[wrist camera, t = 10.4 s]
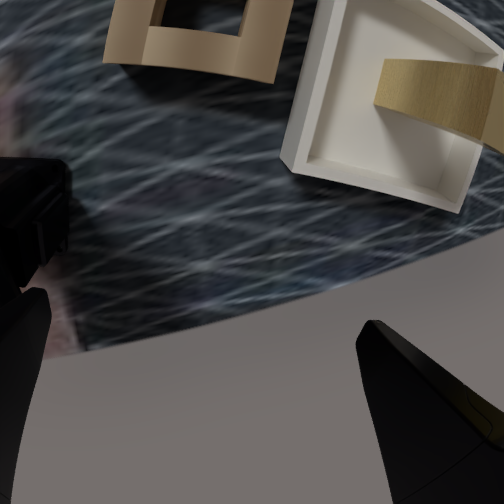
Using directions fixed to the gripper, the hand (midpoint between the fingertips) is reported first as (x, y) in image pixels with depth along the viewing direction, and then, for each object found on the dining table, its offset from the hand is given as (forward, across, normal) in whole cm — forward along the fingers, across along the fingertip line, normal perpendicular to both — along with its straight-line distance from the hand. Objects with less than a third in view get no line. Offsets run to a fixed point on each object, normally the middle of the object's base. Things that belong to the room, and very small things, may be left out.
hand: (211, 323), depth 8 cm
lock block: (+12, +2, -10) cm, 16 cm away
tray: (+12, -10, -8) cm, 18 cm away
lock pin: (+11, -10, -8) cm, 17 cm away
